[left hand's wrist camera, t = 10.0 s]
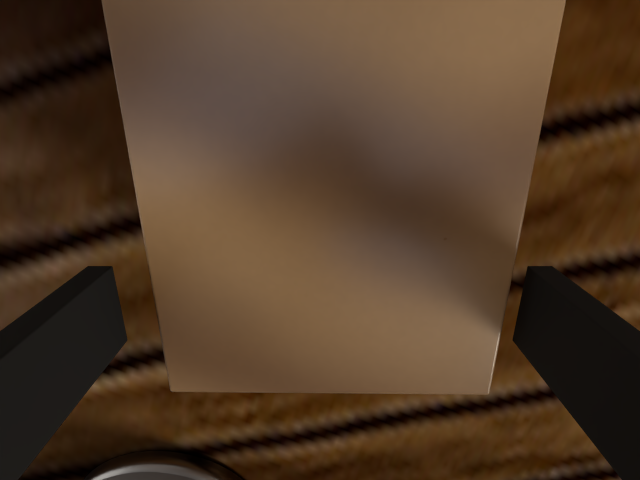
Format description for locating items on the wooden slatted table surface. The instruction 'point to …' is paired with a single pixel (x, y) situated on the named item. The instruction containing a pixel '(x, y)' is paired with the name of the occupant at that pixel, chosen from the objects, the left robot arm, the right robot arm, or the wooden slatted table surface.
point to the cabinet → (332, 184)
